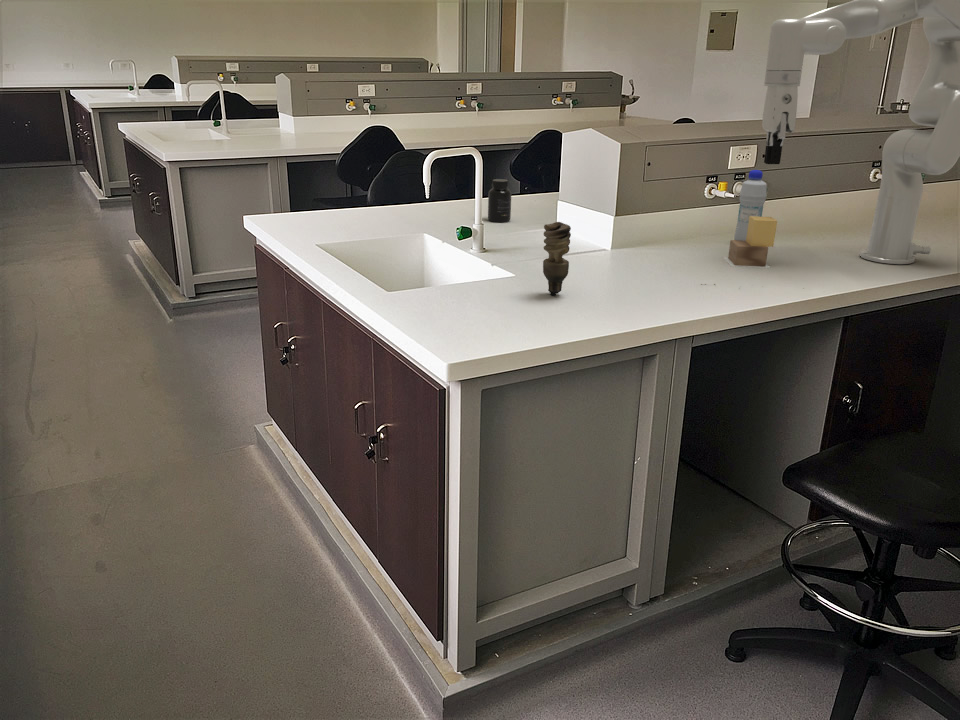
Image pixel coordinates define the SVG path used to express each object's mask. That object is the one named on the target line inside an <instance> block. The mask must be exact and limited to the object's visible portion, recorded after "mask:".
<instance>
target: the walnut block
mask: <svg viewBox="0 0 960 720" xmlns="http://www.w3.org/2000/svg"><path fill="white" fill-rule="evenodd" d="M768 253H769V247H766V246H751V245H750V244H748V243H747V242H746V241H744V240H734V239H730V243H729V249H728V259H729V260H730V261H731V262H732V263H733V264H734V265H738V266H763V267H765V266H766V264H767V259H768Z"/></svg>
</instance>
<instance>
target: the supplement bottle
mask: <svg viewBox="0 0 960 720" xmlns="http://www.w3.org/2000/svg"><path fill="white" fill-rule="evenodd" d="M491 182H492V183H491V187H492V188H491V189H490V190H489V191H488V196H487V197H488V199H487V200H488V201H487V202H488V203H487V220H488V221H489V222H491V223H497V224H503V223H509V222H510V221H511V216H512V213H511V212H512V192H511V191H512V190H510V189H509V187H510V186H509V180H508V179H504V178H503V179H502V178H496V179H492V180H491Z"/></svg>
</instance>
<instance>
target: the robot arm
mask: <svg viewBox="0 0 960 720" xmlns="http://www.w3.org/2000/svg"><path fill="white" fill-rule="evenodd" d="M922 18H923V21H922V28H923V33H924V36H925V38H926V40H927V44H928V47H929V61H928V64H927V67H926V68H925V69H926V70H925V72H924V75H923V76H922V79H921V81H920V83H919V84H918V86H917V89H916V91H915V93H914V95H913V98H912V100H911V102H910V103H909V104H910V105H909V109H908V116H909V117H908V118H909V120H911V121H912V122H913V123H914V124H916V125H919V126H925V127H931V128H933V127H934V129H933V131H931V130H930V131H929V130H922V129H914V128H913V129H912V128H911V129H910V128H907V129H906V128H905V129H900V130H898V131H895V132H893V133H892V134H891V135H890V136H889V137H888V138H887V139H886V141H885V143H884V144H883V148H882V152H881V153H882V154H881V155H882V157H881V163H882V166H881V167H882V171H881V179H880V184H879V185H880V186H879V190H878V195H877V199H876V205H875V209H874V210H875V211H874V215H873V219H872V220H873V221H872V225H871V230H870V235H869V239H868V245H867V249H862V250H860V251H859V256H861V259H864V260H867V261H871V262H875V263H881V264H890V265H910V264H913V263H915V259H916V255H917V254H921V255H929V254H930V253H931V246H929V245H928V246H927V245H925V246H921V245H919V244H915V242H913V237H914V232H915V228H916V223H917V219H918V214H919V209H920V206H921V201H922V197H923V191H924V181H923V176H922V175H923V174H925V175H930V176H940V175H943V174H945V173H948V172H949V170H951V169H952V168H953V167H954V166H955V165H956V163H957V161H958V160H959V158H960V0H851V1H848V2H845V3H842V4H839V5H836V6H835V5H834V6H832V7H829V8H826V9H822V10H819V11H816V12H813V13H811V14H809V15H806V16H803V17H801V18H780V19H776V20H774V21H773V22H772V24H771V27H770V33H769V34H770V35H769V39H768V40H769V42H768V50H767V51H768V52H767V58H766V67H765V75H764V84H763V86H764V87H767V89H766V92H765V93H766V94H765V100H764V105H763V113H762V121H761V126H762V129H763V130H764V131H765V134H766V140H765V141H766V142H765V150H764V151H765V152H764V158H763V163H764V164H766V165H780V164H781V160H782V159H781V158H782V151H783V146H784V141H785V139H786V133H789V134H793V132H795V129H796V122H797V121H796V120H797V111H798V95H799V94H798V87H800V86H801V80H802V78H801V77H802V72H803V66H804V57H805V55H806V56H807V55H809V56H810V55H812V56H814V55H815V56H821V55H822V56H824V55H830V54H832V53H835V52H836V51H838V50H839V49H840V48H841V47H842V46H843V44H844V42H845V40H848V39H849V40H850V39H857V38H858V39H859V38H860V39H861V38H866V37H871V36H877V35H879V34H881V33H885V32H887V31H889V30H891V29H895V28H897V27H899V26H902V25H905V24H908V23H910V22H912V21H915V20H918V19H922Z"/></svg>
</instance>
